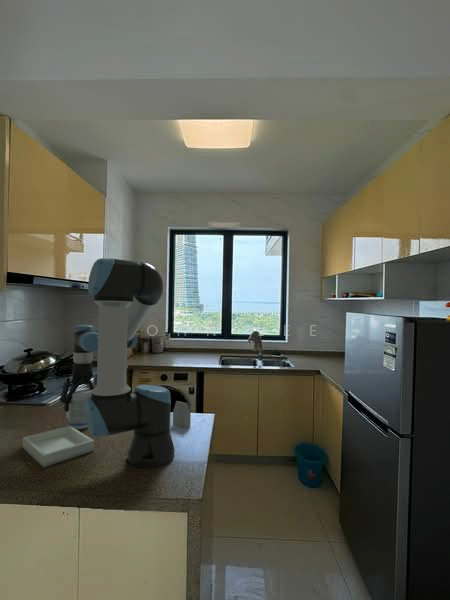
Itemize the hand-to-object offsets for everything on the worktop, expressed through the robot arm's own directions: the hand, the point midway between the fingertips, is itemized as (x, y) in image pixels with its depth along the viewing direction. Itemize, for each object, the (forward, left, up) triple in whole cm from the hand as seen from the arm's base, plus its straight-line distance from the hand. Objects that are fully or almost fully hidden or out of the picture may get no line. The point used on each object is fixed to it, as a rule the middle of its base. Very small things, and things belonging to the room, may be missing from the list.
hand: (81, 416), depth 132 cm
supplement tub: (0, 0, -4) cm, 4 cm away
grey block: (-30, -29, -4) cm, 42 cm away
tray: (-16, +15, -4) cm, 22 cm away
